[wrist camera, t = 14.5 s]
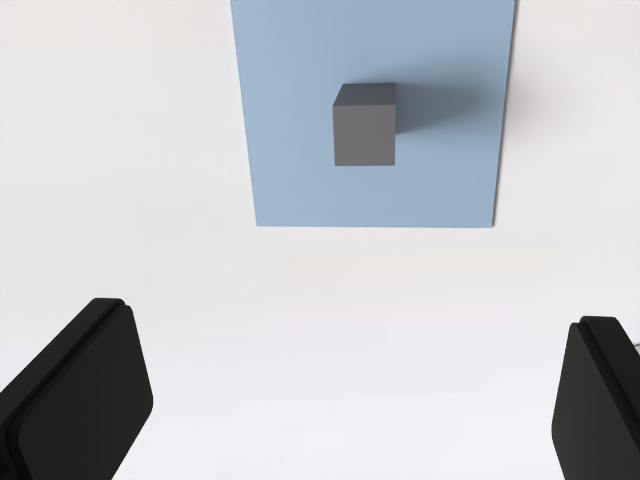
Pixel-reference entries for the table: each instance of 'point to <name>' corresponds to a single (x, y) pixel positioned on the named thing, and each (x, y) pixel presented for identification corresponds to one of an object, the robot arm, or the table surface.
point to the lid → (373, 109)
